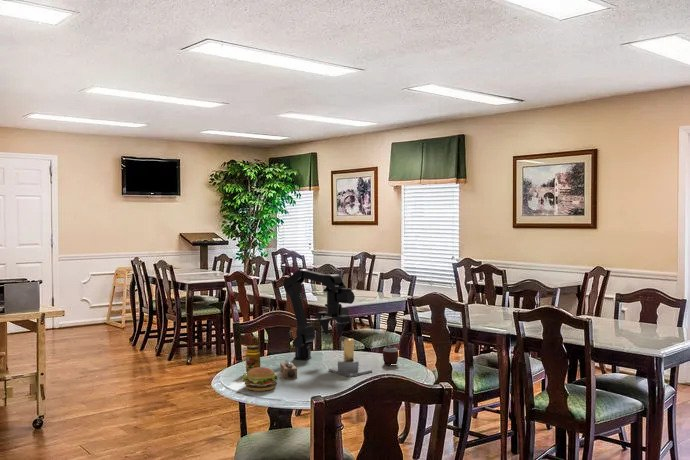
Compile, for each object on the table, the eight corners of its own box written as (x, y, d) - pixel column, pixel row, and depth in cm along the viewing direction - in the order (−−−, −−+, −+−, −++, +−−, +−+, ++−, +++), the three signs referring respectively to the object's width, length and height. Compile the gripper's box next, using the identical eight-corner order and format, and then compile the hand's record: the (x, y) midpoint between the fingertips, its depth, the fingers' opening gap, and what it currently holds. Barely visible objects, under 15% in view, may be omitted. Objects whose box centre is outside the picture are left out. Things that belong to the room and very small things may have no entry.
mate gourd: (395, 367, 292) (396, 334, 292) (379, 365, 295) (379, 333, 294) (399, 363, 299) (400, 331, 299) (383, 362, 302) (383, 330, 301)
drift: (284, 363, 281) (284, 359, 281) (288, 363, 281) (288, 359, 281) (288, 368, 272) (288, 364, 272) (292, 368, 273) (292, 364, 273)
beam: (280, 372, 282) (280, 362, 282) (291, 371, 283) (291, 362, 283) (285, 379, 270) (285, 369, 270) (297, 378, 272) (297, 368, 272)
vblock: (328, 371, 284) (328, 359, 284) (350, 366, 293) (350, 355, 293) (350, 377, 274) (350, 365, 274) (372, 372, 282) (372, 360, 282)
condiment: (246, 376, 275) (246, 348, 275) (243, 371, 283) (243, 344, 283) (263, 375, 277) (263, 347, 277) (259, 370, 285) (259, 343, 285)
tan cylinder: (343, 370, 282) (343, 340, 281) (343, 367, 286) (343, 338, 286) (353, 370, 282) (354, 340, 282) (353, 367, 286) (353, 338, 286)
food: (234, 388, 257) (234, 368, 256) (263, 381, 266) (263, 362, 266) (255, 395, 247) (255, 374, 247) (284, 388, 257) (284, 368, 256)
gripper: (359, 302, 295) (359, 336, 296) (333, 298, 309) (333, 331, 310) (341, 304, 288) (341, 339, 288) (315, 300, 302) (315, 333, 302)
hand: (333, 335), depth 297 cm, fingers open, 9 cm apart
